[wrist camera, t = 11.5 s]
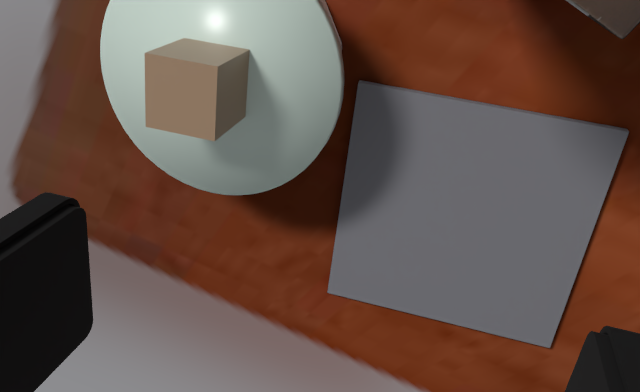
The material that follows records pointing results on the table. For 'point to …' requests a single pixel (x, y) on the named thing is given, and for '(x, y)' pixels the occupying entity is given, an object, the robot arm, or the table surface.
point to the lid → (224, 87)
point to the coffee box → (611, 14)
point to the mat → (468, 209)
